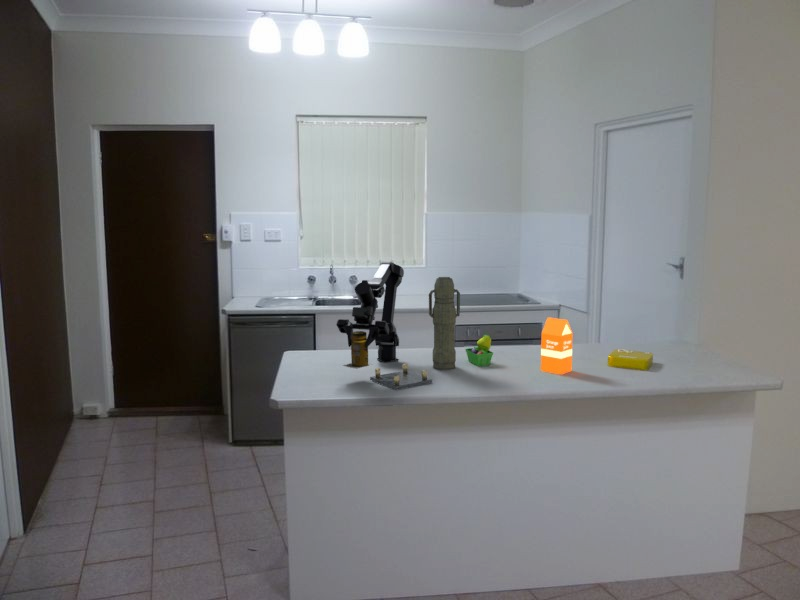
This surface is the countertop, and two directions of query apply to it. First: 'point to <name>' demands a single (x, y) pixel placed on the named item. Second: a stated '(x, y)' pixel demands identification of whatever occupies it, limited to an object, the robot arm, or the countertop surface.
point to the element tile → (630, 359)
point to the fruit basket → (480, 352)
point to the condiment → (358, 350)
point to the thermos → (444, 322)
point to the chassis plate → (401, 378)
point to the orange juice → (556, 346)
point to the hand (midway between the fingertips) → (357, 346)
